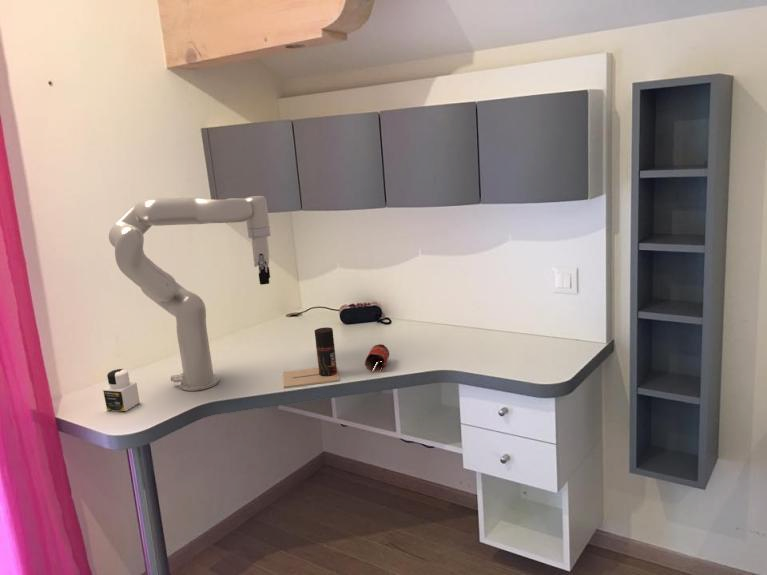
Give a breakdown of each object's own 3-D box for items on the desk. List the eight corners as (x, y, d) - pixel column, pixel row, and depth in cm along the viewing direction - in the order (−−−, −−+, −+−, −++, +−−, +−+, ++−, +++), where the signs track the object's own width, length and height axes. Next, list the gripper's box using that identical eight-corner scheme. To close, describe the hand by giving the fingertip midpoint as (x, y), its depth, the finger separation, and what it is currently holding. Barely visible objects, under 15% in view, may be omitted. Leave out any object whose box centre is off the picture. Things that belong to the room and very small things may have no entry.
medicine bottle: (106, 410, 203) (99, 374, 200) (122, 401, 209) (116, 366, 207) (124, 412, 200) (117, 375, 198) (140, 403, 207) (134, 367, 204)
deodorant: (332, 376, 214) (328, 332, 210) (316, 375, 216) (311, 332, 212) (339, 370, 219) (335, 327, 216) (323, 369, 221) (319, 327, 218)
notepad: (283, 388, 209) (283, 386, 209) (283, 373, 223) (283, 371, 222) (339, 381, 211) (339, 379, 211) (336, 367, 225) (336, 365, 225)
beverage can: (391, 360, 227) (389, 342, 225) (386, 372, 215) (384, 353, 214) (371, 361, 228) (369, 342, 227) (365, 373, 217) (363, 354, 215)
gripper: (249, 230, 231) (255, 277, 235) (246, 237, 214) (253, 287, 218) (270, 228, 232) (276, 275, 236) (269, 234, 215) (275, 285, 219)
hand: (265, 281), depth 227 cm, fingers open, 9 cm apart
